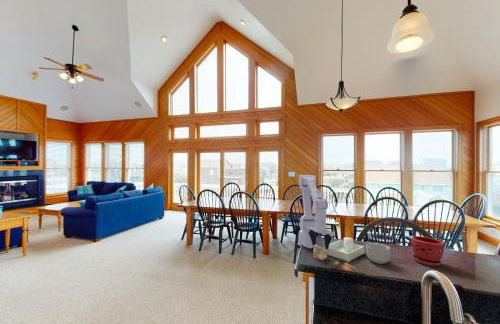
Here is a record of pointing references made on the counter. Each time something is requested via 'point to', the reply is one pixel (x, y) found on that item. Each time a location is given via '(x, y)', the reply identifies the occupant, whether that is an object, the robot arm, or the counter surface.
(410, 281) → the counter surface
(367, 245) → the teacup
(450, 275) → the counter surface
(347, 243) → the white canister
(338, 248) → the tote
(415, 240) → the plant pot
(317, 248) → the oak cube
